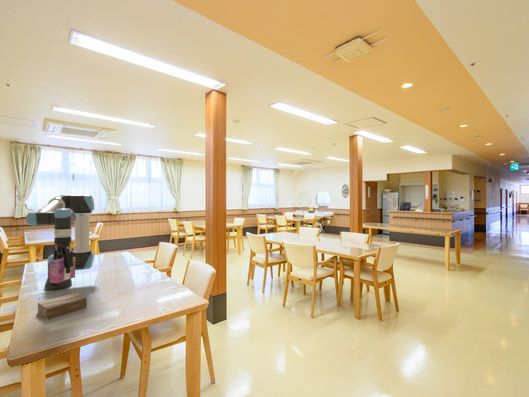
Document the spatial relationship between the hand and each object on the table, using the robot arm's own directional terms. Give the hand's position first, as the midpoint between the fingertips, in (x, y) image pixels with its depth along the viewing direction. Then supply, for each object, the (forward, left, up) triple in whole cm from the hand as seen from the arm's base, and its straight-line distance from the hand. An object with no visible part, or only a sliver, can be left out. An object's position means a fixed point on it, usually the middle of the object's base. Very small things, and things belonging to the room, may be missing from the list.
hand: (62, 278), depth 146 cm
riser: (0, 0, -18) cm, 18 cm away
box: (0, 0, -1) cm, 1 cm away
